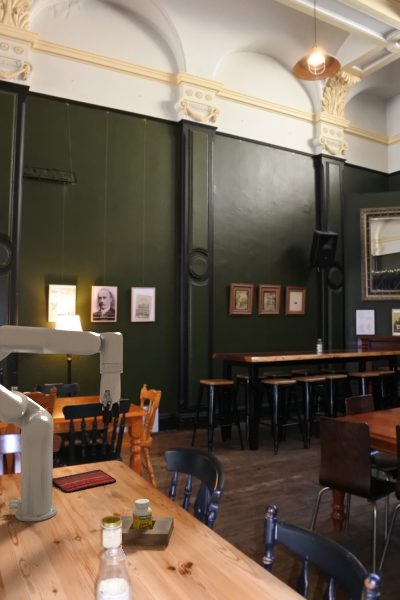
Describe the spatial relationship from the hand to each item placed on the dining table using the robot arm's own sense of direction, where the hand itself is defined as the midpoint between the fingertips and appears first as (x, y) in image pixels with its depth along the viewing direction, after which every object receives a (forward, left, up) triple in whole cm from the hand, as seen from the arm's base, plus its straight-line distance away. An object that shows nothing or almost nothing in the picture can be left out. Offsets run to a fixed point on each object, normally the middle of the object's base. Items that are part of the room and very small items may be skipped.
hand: (111, 420), depth 161 cm
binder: (-17, +25, -29) cm, 42 cm away
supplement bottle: (+15, -22, -28) cm, 39 cm away
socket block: (+15, -22, -28) cm, 39 cm away
